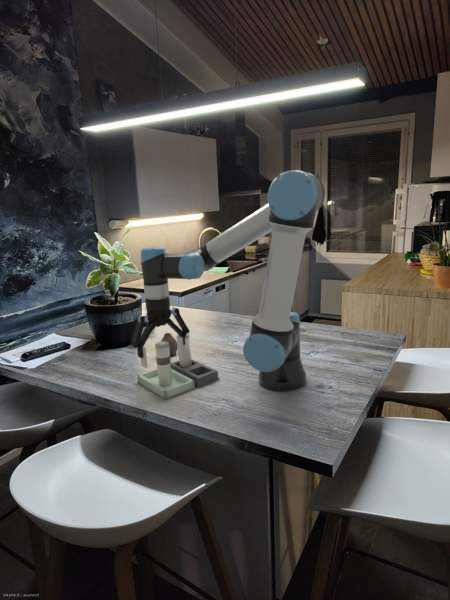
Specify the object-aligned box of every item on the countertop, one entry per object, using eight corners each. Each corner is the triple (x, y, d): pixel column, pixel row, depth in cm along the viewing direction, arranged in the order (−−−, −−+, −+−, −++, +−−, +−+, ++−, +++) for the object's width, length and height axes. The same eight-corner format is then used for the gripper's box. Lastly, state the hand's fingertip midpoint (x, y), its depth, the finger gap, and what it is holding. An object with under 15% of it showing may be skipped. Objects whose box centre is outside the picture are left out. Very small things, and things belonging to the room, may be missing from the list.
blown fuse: (174, 383, 133) (171, 343, 130) (162, 387, 131) (159, 347, 127) (167, 379, 137) (164, 340, 134) (156, 383, 134) (152, 343, 131)
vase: (157, 356, 160) (155, 335, 158) (167, 350, 166) (165, 330, 164) (171, 358, 157) (169, 337, 155) (181, 352, 163) (179, 332, 161)
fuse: (194, 371, 144) (191, 334, 140) (184, 375, 141) (181, 337, 138) (187, 368, 147) (185, 331, 144) (177, 371, 144) (174, 334, 141)
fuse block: (219, 378, 136) (219, 370, 136) (198, 386, 131) (198, 378, 130) (190, 364, 150) (189, 357, 149) (169, 371, 145) (169, 363, 144)
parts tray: (194, 388, 130) (194, 380, 130) (165, 399, 124) (164, 391, 123) (166, 372, 144) (165, 365, 144) (138, 382, 138) (137, 374, 137)
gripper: (184, 288, 137) (189, 348, 142) (114, 302, 123) (122, 368, 127) (196, 291, 132) (201, 353, 136) (125, 306, 117) (133, 375, 122)
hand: (163, 360), depth 132 cm, fingers open, 13 cm apart
